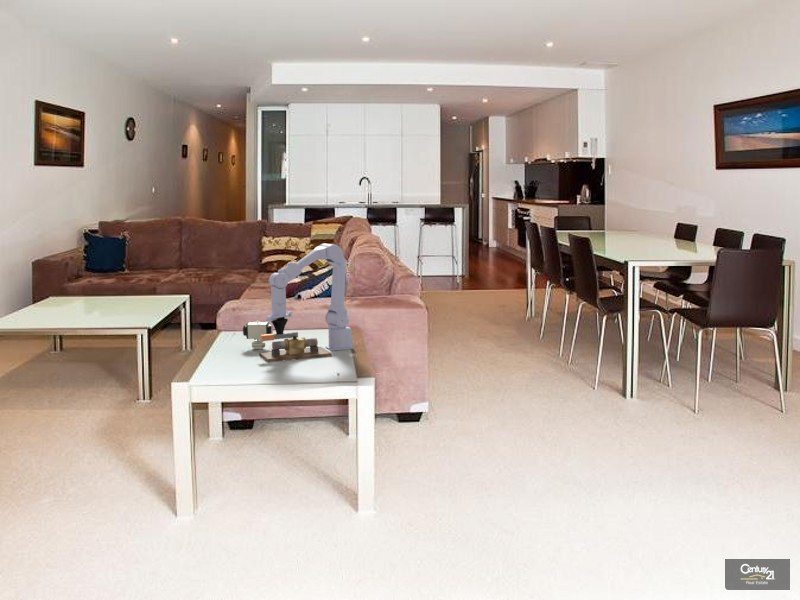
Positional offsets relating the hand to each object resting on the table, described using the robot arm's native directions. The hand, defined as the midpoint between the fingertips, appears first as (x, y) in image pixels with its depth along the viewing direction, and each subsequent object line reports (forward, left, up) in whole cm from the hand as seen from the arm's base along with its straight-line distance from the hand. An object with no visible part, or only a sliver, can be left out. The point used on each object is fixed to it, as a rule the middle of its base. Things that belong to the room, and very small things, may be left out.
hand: (279, 336), depth 321 cm
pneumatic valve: (+4, -18, -8) cm, 20 cm away
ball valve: (-6, +2, -8) cm, 10 cm away
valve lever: (+1, +2, 0) cm, 2 cm away
